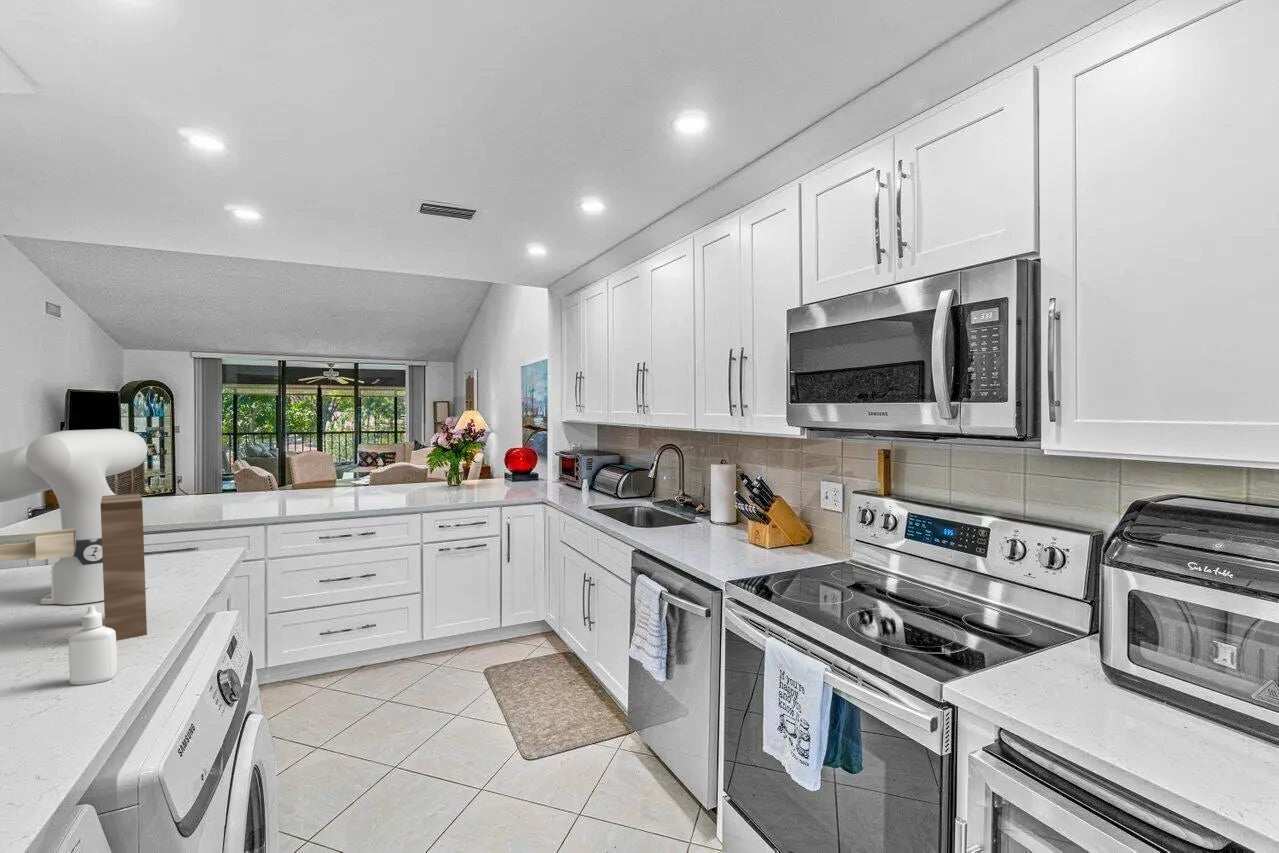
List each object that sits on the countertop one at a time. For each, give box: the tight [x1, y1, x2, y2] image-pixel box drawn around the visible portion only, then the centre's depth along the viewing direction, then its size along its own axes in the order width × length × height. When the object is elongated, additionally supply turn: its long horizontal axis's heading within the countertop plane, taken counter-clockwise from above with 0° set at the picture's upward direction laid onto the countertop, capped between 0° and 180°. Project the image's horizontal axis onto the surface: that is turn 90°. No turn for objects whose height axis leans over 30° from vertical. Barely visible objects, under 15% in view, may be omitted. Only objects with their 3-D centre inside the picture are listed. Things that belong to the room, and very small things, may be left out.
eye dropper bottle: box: [68, 605, 118, 686], centre depth 98 cm, size 4×6×12 cm
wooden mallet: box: [0, 528, 76, 563], centre depth 111 cm, size 8×14×4 cm, turn 130°
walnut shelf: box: [101, 492, 148, 641], centre depth 121 cm, size 14×6×26 cm, turn 40°
